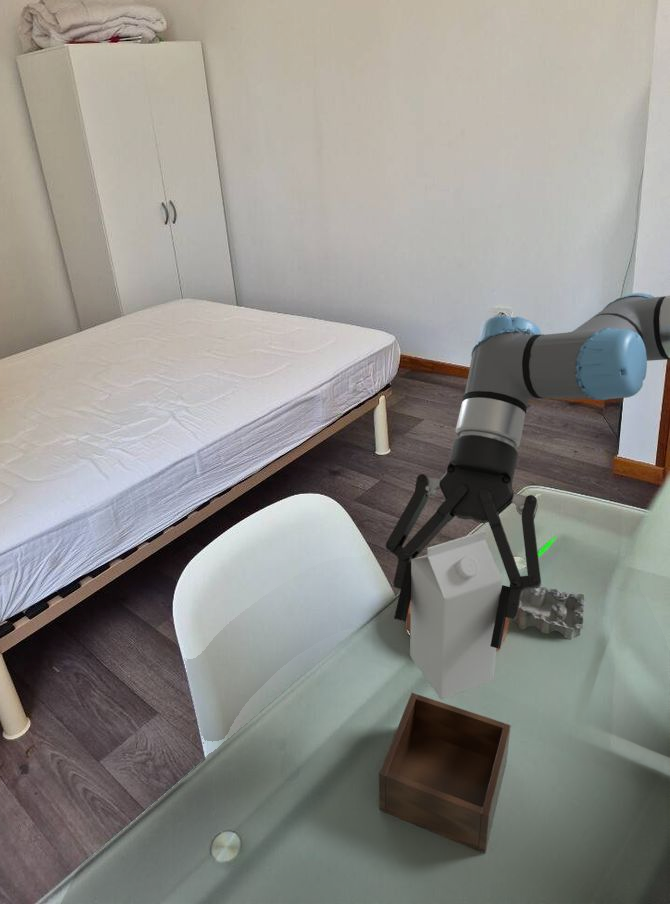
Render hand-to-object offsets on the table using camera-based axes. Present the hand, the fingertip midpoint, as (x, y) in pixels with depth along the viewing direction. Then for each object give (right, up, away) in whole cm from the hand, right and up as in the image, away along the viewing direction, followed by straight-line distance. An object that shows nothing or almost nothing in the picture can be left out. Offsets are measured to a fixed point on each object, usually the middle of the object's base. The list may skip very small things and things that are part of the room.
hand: (446, 633), depth 76 cm
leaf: (+28, -2, +49) cm, 56 cm away
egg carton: (+23, -9, +33) cm, 41 cm away
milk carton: (+2, -6, +6) cm, 9 cm away
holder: (+2, -22, +9) cm, 24 cm away
